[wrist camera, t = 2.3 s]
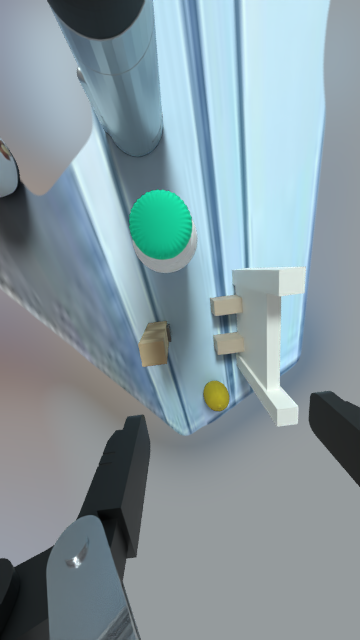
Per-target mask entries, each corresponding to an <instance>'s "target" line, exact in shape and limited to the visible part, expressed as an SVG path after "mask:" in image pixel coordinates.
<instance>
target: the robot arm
mask: <svg viewBox="0 0 360 640" xmlns="http://www.w3.org/2000/svg"><path fill="white" fill-rule="evenodd" d="M47 1H48V3H49V5H50V7H51V9H52V11H53V14H54V16H55V18H56V20H57V22H58V24H59V26H60V28H61V31H62V33H63V35H64V37H65V39H66V41H67V43H68V45H69V47H70V49H71V51H72V54H73V56H74V58H75V60H76V62H77V64H78V68H77V77H78V79H79V81H80V83H81V85H82V87H83V89H84V91H85V93H86V95H87V97H88V99H89V101H90V103H91V105H92V107H93V109H94V111H95V113H96V115H97V117H98V119H99V121H100V123H101V125H102V127H103V129H104V131H105V132H107V133H108V134H110V135H111V137H112V138H113V140H114V142H115V144H116V145H117V146H118V147H119V148H120V149H121V150H122V151H123V152H125V153H127V154H129V155H132V156H143V155H146V154H148V153H150V152H151V151H152V150H154V149H155V147H156V146H157V145H158V143H159V141H160V138H161V135H162V130H163V120H162V107H161V94H160V82H159V69H158V57H157V45H156V32H155V20H154V7H153V0H47ZM309 423H310V427H311V429H312V431H313V432H314V434H315V435H316V436H317V437H318V439H319V440H320V441H321V442H322V443H323V444H324V445H325V447H326V448H327V449H328V450H329V451H330V453H331V454H332V455H333V456H334V457H335V459H336V460H337V461H338V462H339V463H340V464H341V466H342V467H343V468H344V469H345V470H346V471H347V472H348V474H349V475H350V476H351V477H352V478H353V480H354V481H355V482H356V483H357V484H358V485H359V487H360V407H358V406H356V405H353V404H352V403H350V402H348V401H344V400H342V399H341V398H340V397H338V396H337V395H336V394H335V393H333V392H331V391H324V392H317V393H312V394H311V396H310V407H309ZM149 458H150V439H149V434H148V430H147V425H146V421H145V417H144V415H137V416H129V417H127V419H126V422H125V424H124V428H123V430H116V431H115V433H114V434H113V435H112V436H111V438H110V439H109V440H108V442H107V444H106V447H105V449H104V452H103V456H102V457H101V460H100V462H99V467H97V470H96V473H95V475H94V477H93V480H92V483H91V485H90V488H89V491H88V493H87V495H86V498H85V501H84V503H83V506H82V508H81V511H80V513H79V515H78V518H77V519H76V521H74V522H73V523H72V524H71V525H70V526H68V527H67V528H66V530H65V531H64V532H63V533H62V534H61V535H60V537H59V538H58V540H57V541H56V543H55V545H53V546H52V547H51V548H49V549H48V550H46V551H44V552H42V553H40V554H38V555H36V556H34V557H33V558H31V559H29V560H27V561H25V562H23V563H21V564H20V565H18V566H16V567H13V565H12V564H11V562H10V561H9V560H8V559H5V558H1V559H0V640H141V638H140V635H139V632H138V629H137V625H136V622H135V619H134V616H133V613H132V609H131V606H130V603H129V600H128V597H127V594H126V590H125V587H124V584H123V576H124V570H125V563H126V558H134V557H136V555H137V548H138V541H139V533H140V526H141V518H142V511H143V503H144V495H145V488H146V480H147V473H148V466H149Z"/></svg>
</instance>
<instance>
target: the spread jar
mask: <svg viewBox="0 0 360 640" xmlns="http://www.w3.org/2000/svg"><path fill="white" fill-rule="evenodd" d="M19 181H20V174H19V169H18V166H17V163H16V161H15V159H14V157H13V155H12V154H11V152H10V150H9V149H8V147H7V146H6V144H5V143H4V142H3V140H2V139H1V138H0V197H4V196H8V195H10V194H12V193H13V192H15V191H16V190H17V188H18V186H19Z"/></svg>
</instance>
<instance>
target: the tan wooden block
mask: <svg viewBox="0 0 360 640" xmlns="http://www.w3.org/2000/svg"><path fill="white" fill-rule="evenodd" d="M169 342H171V332H170V325H169V324H168V325H167V321H162V322H154V323H148V325H147V327H146V329H145V332H144V334H143V336H142V338H141V340H140V342H139V344H138V346H139V351H140V356H141V361H142V365H143V367H145V366H153V365H161V364H167V357H168V345H169Z"/></svg>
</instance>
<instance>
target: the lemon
mask: <svg viewBox="0 0 360 640" xmlns="http://www.w3.org/2000/svg"><path fill="white" fill-rule="evenodd" d="M203 395H204V399H205V402H206V404H207V405H208V407H209V408H211V409H212V410H214V411H222V410H224V409H225V408H226V407H227V406H228V404H229V393H228V391H227V388H226V387H225V386H224V384H222V383H221V382H219V381H211V382H209V383H207V384H206V386H205V388H204V394H203Z"/></svg>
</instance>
